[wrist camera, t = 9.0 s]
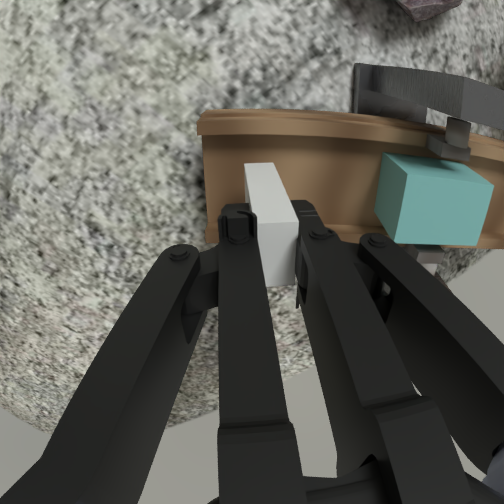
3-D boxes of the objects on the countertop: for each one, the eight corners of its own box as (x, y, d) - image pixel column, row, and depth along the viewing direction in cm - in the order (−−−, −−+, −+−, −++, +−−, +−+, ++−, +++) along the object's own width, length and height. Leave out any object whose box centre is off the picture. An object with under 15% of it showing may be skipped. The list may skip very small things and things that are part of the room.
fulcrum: (338, 240, 28) (387, 337, 18) (354, 62, 20) (447, 71, 10) (398, 238, 28) (460, 325, 18) (423, 75, 20) (529, 101, 10)
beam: (214, 236, 24) (201, 285, 19) (206, 91, 18) (183, 101, 13) (518, 244, 23) (550, 280, 18) (547, 141, 17) (590, 165, 12)
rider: (373, 211, 20) (393, 243, 16) (382, 151, 18) (407, 173, 14) (449, 215, 20) (476, 245, 16) (461, 162, 17) (494, 185, 14)
